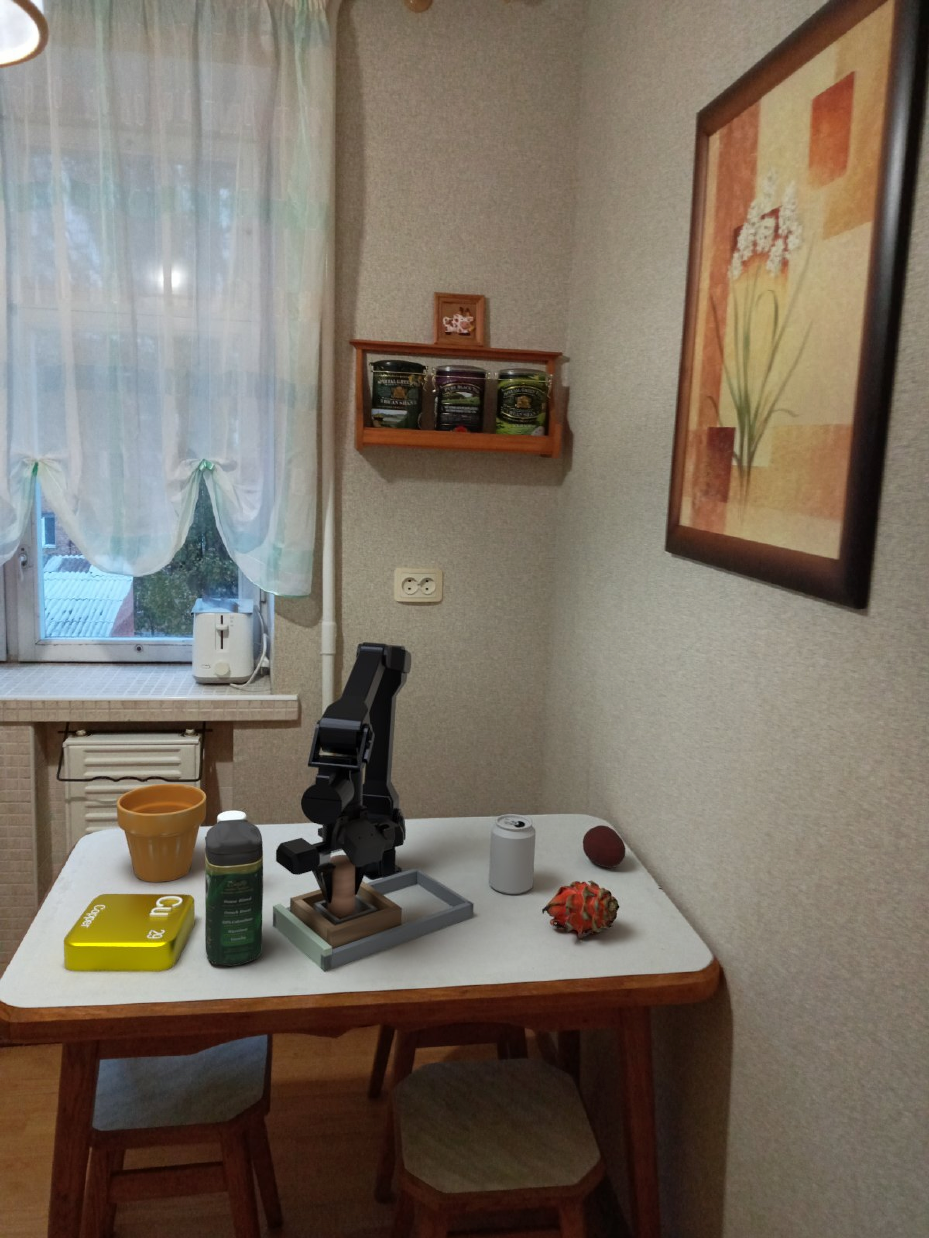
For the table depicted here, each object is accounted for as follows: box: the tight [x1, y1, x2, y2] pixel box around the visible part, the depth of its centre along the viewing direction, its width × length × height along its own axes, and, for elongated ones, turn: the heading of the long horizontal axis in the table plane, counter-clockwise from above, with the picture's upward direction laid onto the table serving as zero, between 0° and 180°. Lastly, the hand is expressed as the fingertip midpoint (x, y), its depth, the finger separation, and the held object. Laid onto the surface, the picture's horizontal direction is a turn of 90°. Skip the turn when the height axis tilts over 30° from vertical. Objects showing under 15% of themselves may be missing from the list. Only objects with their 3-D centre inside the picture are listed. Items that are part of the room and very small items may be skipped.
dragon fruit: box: [541, 880, 621, 939], centre depth 136 cm, size 8×8×12 cm
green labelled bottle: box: [204, 819, 264, 967], centre depth 126 cm, size 10×8×19 cm
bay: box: [272, 867, 475, 972], centre depth 136 cm, size 15×27×4 cm, turn 129°
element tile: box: [63, 893, 196, 973], centre depth 128 cm, size 15×15×5 cm
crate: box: [289, 880, 403, 949], centre depth 133 cm, size 12×12×4 cm
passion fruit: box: [582, 824, 626, 868], centre depth 160 cm, size 7×8×7 cm
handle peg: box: [328, 854, 355, 919], centre depth 132 cm, size 4×4×10 cm
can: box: [488, 813, 537, 895], centre depth 149 cm, size 8×8×12 cm
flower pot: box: [116, 783, 207, 883], centre depth 150 cm, size 14×14×13 cm
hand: (341, 898), depth 132 cm, fingers closed on handle peg, 4 cm apart
